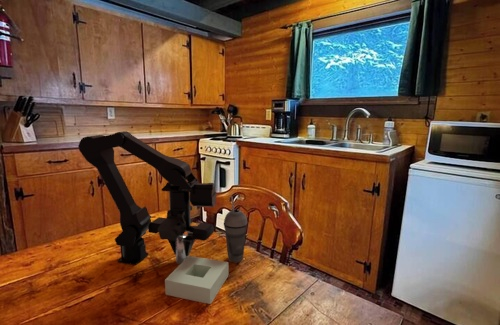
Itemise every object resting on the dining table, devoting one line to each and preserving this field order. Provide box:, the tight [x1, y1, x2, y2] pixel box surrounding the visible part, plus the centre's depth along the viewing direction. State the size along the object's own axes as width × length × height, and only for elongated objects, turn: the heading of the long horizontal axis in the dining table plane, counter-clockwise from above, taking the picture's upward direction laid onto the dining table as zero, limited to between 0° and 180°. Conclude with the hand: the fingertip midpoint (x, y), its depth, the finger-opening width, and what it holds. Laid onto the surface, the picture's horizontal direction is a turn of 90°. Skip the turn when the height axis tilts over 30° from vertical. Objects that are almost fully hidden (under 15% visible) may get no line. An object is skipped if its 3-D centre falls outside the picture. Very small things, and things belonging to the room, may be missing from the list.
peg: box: [175, 233, 187, 265], centre depth 82 cm, size 4×4×8 cm
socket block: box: [164, 255, 229, 305], centre depth 71 cm, size 12×12×4 cm
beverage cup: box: [223, 195, 249, 263], centre depth 83 cm, size 7×7×20 cm
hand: (181, 254), depth 83 cm, fingers closed on peg, 3 cm apart
